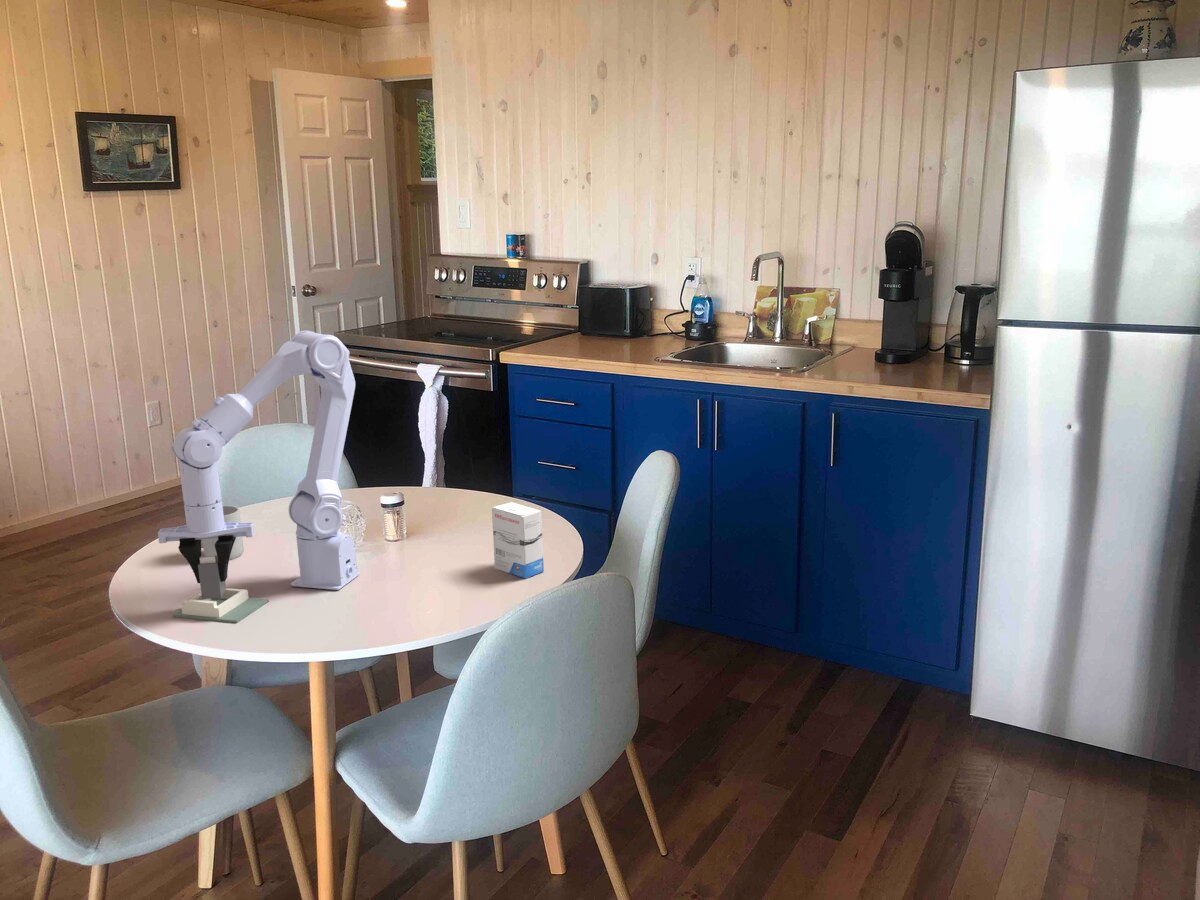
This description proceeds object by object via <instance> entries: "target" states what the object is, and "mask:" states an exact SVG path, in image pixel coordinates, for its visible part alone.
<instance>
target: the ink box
mask: <svg viewBox="0 0 1200 900" xmlns="http://www.w3.org/2000/svg"><path fill="white" fill-rule="evenodd" d="M491 516H492V517H491V519H492V521H491V522H492V534H493V536H492V537H493V555H494V556H493V557H494V558H493V560H494V569H496V570H498V571H503V572H505V573H508V574H510V575H514V576H517V577H520V578H522V579H529V578H530V577H533V576H536V575H538V574H540V573H543V572H544V570H545V569H544V548H543V547H544V545H543V544H544V542H543V522H542V518H543V517H542V510H539V509H536V508H533V507H529V506H526V505H522V504H518V503H517V502H513V501H512V502H508V503H504V504H500V505H496V506H493V507H491Z"/></svg>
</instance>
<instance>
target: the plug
mask: <svg viewBox="0 0 1200 900" xmlns="http://www.w3.org/2000/svg"><path fill="white" fill-rule="evenodd" d="M198 570H199V578H200V583H199V584H200V585H199V586H200V593H201V595H202V599H212V598H221V597H222V596H223V594H224V592H225V590H226V588H227V585H226V580H225V581H223V582H221V581H220V575H219V563H218V557H217V556H216V555H212V556H204V555H202V556H201V557H200V562H199V564H198Z"/></svg>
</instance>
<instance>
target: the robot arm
mask: <svg viewBox="0 0 1200 900" xmlns="http://www.w3.org/2000/svg"><path fill="white" fill-rule="evenodd" d="M350 353H351V352H350V350H349V349H348V348H347V347H346V345H345V344H343V342H342V341H341V340H340V339H339V338H338V337H337V336H335V335H333V334H322V333H317V332H315V331H312V330H301V331H298V332H297V333H295V335H293V336H292V338H291V339H290V340H288V341H286V342H285V343H283V344H282V345H281V346H280V348H279V349H278V350H277V352H276V353H275V355H273V356H272V357H271V358H270V359H269V360H268V362H266V364H264V365H263V367H262V368H261V369H260V370H259V371H257V373H256V374H254V376H253V377H252V378H251V379H250V380H249V381H248V382H247V383H246V384H245V385H244V386H243V387H242V388H241V390H240V391H239V392H238V393H226V394H224V395H223V396H222V397H221V396H216V398H214V399H213V400H212V403H213V404H214V405H212V407H210V408H209V409H208V410H207V411H206V412H205V413H204V414H203V415H202V416H201V417H200V418H199V419H197V418H194V420H192V421H191V426H192V427H187V428H183V429H182V430H180V431H179V432H178V433H177V434H176V435H175V437H174V441H173V445H171V447H170V448H171V452H172V453H173V455H174V456H175V458H176V459H178V460H179V461H178V462H179V469H180V482H181V483H180V484H181V485H180V486H181V492H182V498H183V499H182V500H183V507H184V513H185V514H184V515H185V516H184V517H185V521H186V524H185V525H180V526H174V527H173V526H172V527H166V528H160V529H159V530H158V531H157V536H158V544H166V543H167V542H179V545H178V551H179V552H180V554H181V555H182V556H183V557H184V558H185V561H187V563H188V565H189V566H190V568H191V571H192V572H193V574H194V576H195V579H196V582H197V584H200V578H199V570H198V564H199V562H200V557H201V556H203V554H202V548H201V539H214V538H218V541H216V543H215V549H216V553H217V557H218V563H219V575H220V581H221V582H223V581H225V582H226V581H227V579H228V571H229V562H230V560H229V558H230V554H231V551H232V547H233V545H234V542H235V539H236V537H242V538H243V537H245V538H247V539H248V538H253V537H254V535H255V525H254V522H241V523H235V522H224V514H223V506H224V505H223V499H222V490H221V489H222V488H221V483H220V473H219V469H218V461H219V460H220V459H221V456H222V453H223V447H225V446H226V445H227V444H228V443H229V442H230V441H231V440H232V439H233V438H234V437H236V435H237V434H238V433H240V431H242V429H244V428H245V427H246V426H247V425H248V424H249V423H250V422H251V421H252V420H253V418H254V408H255V407H256V406H257V405H258V404H260V403H261V402H263V400H264V399H266V398H267V397H268V396H269V395H270V394H271V393H273V392H274V391H275V390H276V389H277V388H279V386H281V385H282V384H283V383H285V381H286V380H288V379H289V378H290V377H297V376H304V375H311V376H312V377H313V379H314V380H315V381H316V382H317V383H318V385H319V387H320V388H321V395H320V399H319V405H318V410H317V411H318V412H317V415H316V421H315V427H314V432H313V438H312V442H311V448H310V453H309V459H308V463H307V468H306V474H305V477H304V478H303V479H302V480H301V481H300V482H299V483H298V485H297V490H296V492H295V494H294V496H293V497H292V499H291V500H290V502H289V505H288V515H289V517H290V519H291V521H292V522H293V523H294V524H296V531H295V535H296V546H297V548H296V549H297V555H298V556H297V557H298V565H299V567H298V568H299V577H298V578H297V579H295V580H293V581H292V582H290V586H291V587H299V588H311V589H321V590H323V589H324V590H333V591H338V590H341V589H342V588H343V587H345V586H346V585H347V584H349V583H350V582H352V581H353V580H354V579H356V578H357V577H358V576H359V575H360V574H361V573H360V571H358V566H357V552H356V544H355V540H354V538H353V536H351V535H349V534H345V533H343V532H341V531H339V529H340V528H341V527H342V524H343V521H344V515H343V514H344V512H343V509H342V499H343V496H342V493H341V490H340V488H339V485H338V478H339V474H340V468H341V463H342V459H343V453H344V448H345V442H346V438H347V437H346V436H347V431H348V427H349V422H350V417H351V416H350V415H351V411H352V407H353V402H354V401H353V400H354V396H355V390H356V380H355V376H354V373H353V372H354V371H353V369H352V367H351V363H350V360H349V359H350Z"/></svg>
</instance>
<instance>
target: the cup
mask: <svg viewBox="0 0 1200 900" xmlns="http://www.w3.org/2000/svg"><path fill="white" fill-rule="evenodd" d="M222 506H223V514H224V522H235V523H242V521H241V513H240V508H239V506H236V505H235V506H234V505H222ZM216 541H218V538H214V539H201V549H203V550H202V551H203V556H212V555H216V556H217V553H216V549H215V543H216ZM244 551H245V547H244V538H243V537H236V539H235V542H234V545H233V547H232V551H231V554H230V558H229V561H232V560H235V559H237V558H241V556H243V554H244Z"/></svg>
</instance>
